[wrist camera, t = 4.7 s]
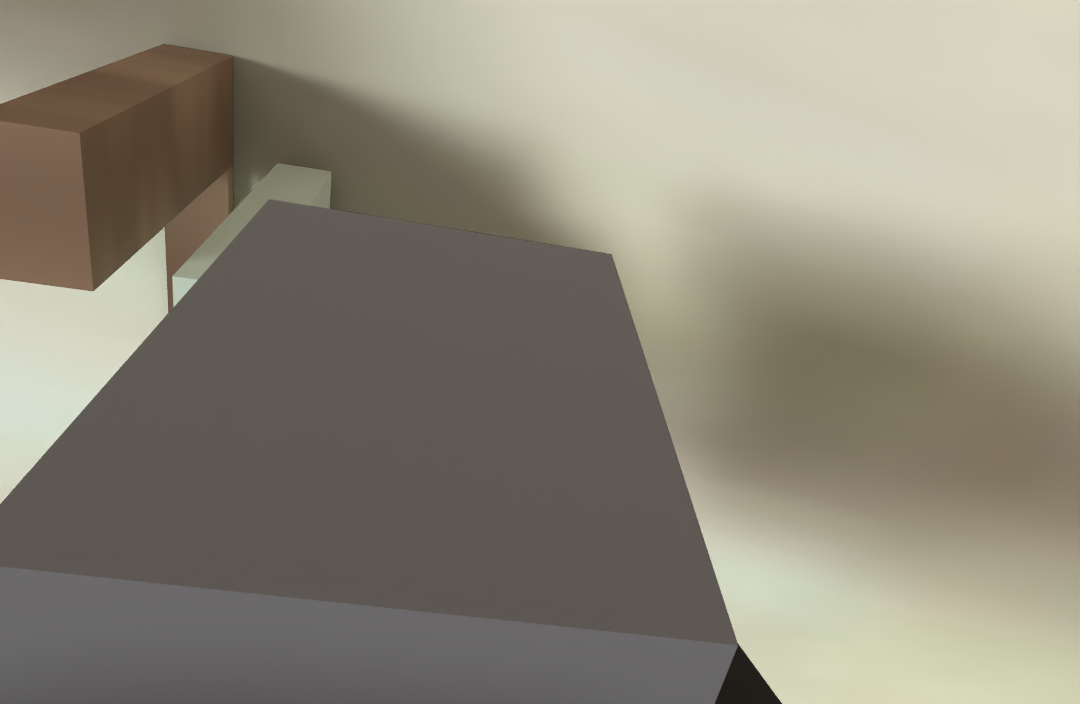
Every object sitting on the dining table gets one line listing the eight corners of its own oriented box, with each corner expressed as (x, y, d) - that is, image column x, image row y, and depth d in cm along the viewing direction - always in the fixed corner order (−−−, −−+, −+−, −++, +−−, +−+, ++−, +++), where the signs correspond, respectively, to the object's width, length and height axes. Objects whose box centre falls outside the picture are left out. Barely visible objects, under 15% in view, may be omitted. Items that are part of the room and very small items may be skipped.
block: (524, 621, 12) (540, 1140, 7) (255, 592, 12) (54, 1123, 7) (611, 253, 10) (737, 644, 4) (268, 198, 9) (-49, 559, 4)
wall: (233, 674, 22) (148, 913, 17) (188, 670, 22) (86, 910, 17) (232, 55, 15) (79, 132, 9) (163, 44, 15) (-32, 116, 9)
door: (358, 493, 19) (307, 691, 14) (269, 483, 19) (188, 681, 14) (385, 179, 16) (331, 298, 11) (277, 163, 15) (171, 276, 10)
